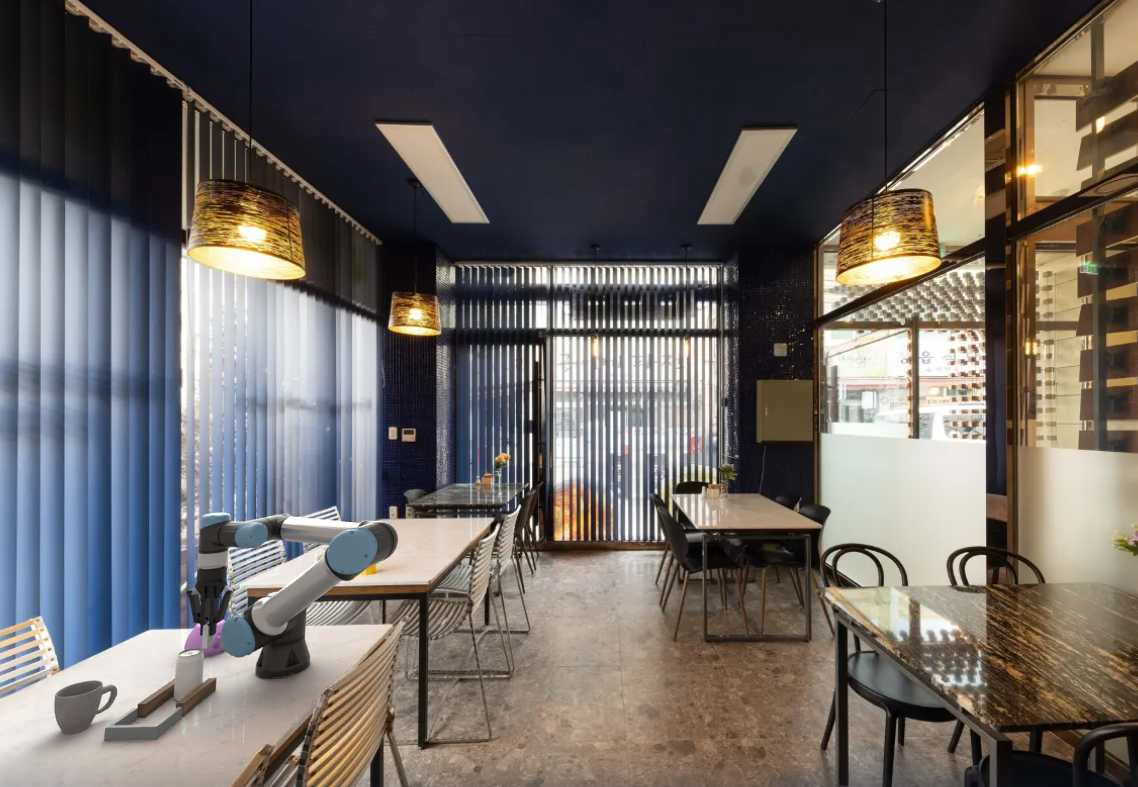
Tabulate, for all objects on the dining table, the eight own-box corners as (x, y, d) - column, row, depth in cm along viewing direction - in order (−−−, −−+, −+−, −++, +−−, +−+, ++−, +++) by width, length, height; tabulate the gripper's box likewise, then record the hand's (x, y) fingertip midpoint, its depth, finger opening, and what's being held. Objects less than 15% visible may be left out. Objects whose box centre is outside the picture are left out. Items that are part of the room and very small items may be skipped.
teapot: (194, 666, 165) (196, 631, 166) (176, 648, 178) (178, 616, 178) (243, 652, 175) (245, 619, 176) (223, 637, 188) (224, 606, 189)
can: (186, 703, 142) (189, 658, 143) (167, 700, 144) (170, 655, 145) (207, 691, 149) (210, 648, 150) (188, 689, 150) (191, 646, 151)
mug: (57, 743, 124) (60, 701, 125) (47, 731, 129) (50, 690, 129) (121, 720, 134) (124, 681, 135) (109, 709, 139) (112, 672, 139)
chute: (215, 690, 150) (216, 677, 150) (183, 717, 136) (184, 703, 136) (173, 691, 149) (174, 678, 149) (136, 718, 135) (137, 703, 135)
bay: (181, 719, 135) (182, 707, 135) (156, 739, 126) (157, 726, 126) (132, 720, 134) (133, 708, 134) (103, 740, 125) (104, 727, 125)
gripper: (242, 562, 161) (237, 641, 159) (198, 562, 160) (192, 641, 158) (227, 568, 153) (222, 651, 152) (181, 568, 153) (175, 652, 151)
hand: (207, 646), depth 155 cm, fingers closed
